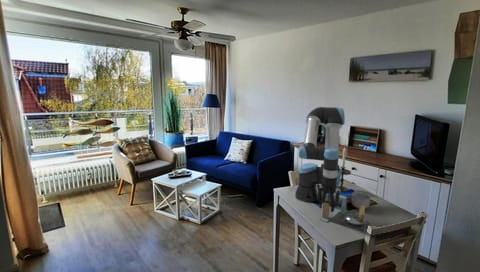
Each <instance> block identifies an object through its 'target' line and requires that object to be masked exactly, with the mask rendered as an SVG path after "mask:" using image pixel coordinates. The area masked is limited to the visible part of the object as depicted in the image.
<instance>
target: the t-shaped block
mask: <svg viewBox="0 0 480 272" xmlns="http://www.w3.org/2000/svg"><path fill="white" fill-rule="evenodd" d="M335 196H336V194H335V193H334V201H335ZM339 200H340V201H341V204H340V206H341V207H340V206H339V205H338V206H337V207H335V208H334V212H332V216H331V217H330V218H329V219H327V218H324V217H322V216H321V217H320V218H319V220H320V221H321V222H325V223H328V222H329V221H331V220H332V219H333V218H334V217H336V216H337V215H339V214H340V213H342V214H345V213H346V212H348V209H347V202H348V196H344V195H341V194H340V196H339Z"/></svg>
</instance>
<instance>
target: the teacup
mask: <svg viewBox="0 0 480 272" xmlns="http://www.w3.org/2000/svg"><path fill="white" fill-rule="evenodd" d="M350 198H351V204H352V206H353V207H354V208H356V209H358V210H359V205H364V206H365V209H367V208H369V207H370V203H371V195H370V194H368V193H367V192H363V191H362V192H361V191H358V190H354V191H353V192H352V193H351V197H350Z"/></svg>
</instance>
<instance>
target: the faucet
mask: <svg viewBox="0 0 480 272" xmlns="http://www.w3.org/2000/svg"><path fill="white" fill-rule="evenodd" d="M365 211H366V208H365V206H364V205H359V209H358V214H356V213H346V214H345V215H344V218H345V220H346V221H347V222H348V223H350V224H353V225H363V224H364V223H365V220H366V219H365Z"/></svg>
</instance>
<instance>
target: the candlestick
mask: <svg viewBox="0 0 480 272" xmlns="http://www.w3.org/2000/svg"><path fill="white" fill-rule="evenodd" d="M346 146H347V143H345V145H344V146H343V147H344V148H343V150H342V161H341V166H340V169H342V173H341V178H340V183H339V185H338V186H337V189H339V190H341V193H347V192H349V189H348V187H345V186H343V185H344V181H345V179H344V176H349V175H351V174H352V171H351V170H349V169H346V168H347V167H345V165H346V156H347V154H346V153H347V148H346Z"/></svg>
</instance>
